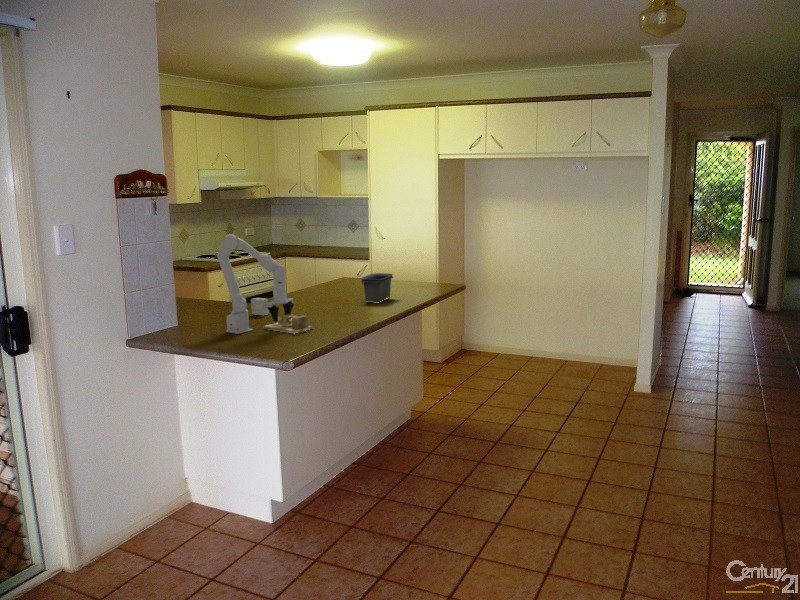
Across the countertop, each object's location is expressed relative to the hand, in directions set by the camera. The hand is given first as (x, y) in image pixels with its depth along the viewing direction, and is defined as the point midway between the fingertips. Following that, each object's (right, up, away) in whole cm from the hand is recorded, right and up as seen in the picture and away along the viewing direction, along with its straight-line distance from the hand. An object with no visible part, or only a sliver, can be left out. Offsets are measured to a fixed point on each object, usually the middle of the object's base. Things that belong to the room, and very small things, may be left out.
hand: (281, 320), depth 310 cm
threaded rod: (+2, -1, -2) cm, 3 cm away
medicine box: (-16, +1, +32) cm, 36 cm away
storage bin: (+41, +9, +68) cm, 80 cm away
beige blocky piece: (+3, -4, -2) cm, 6 cm away
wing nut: (+3, -2, -2) cm, 5 cm away
